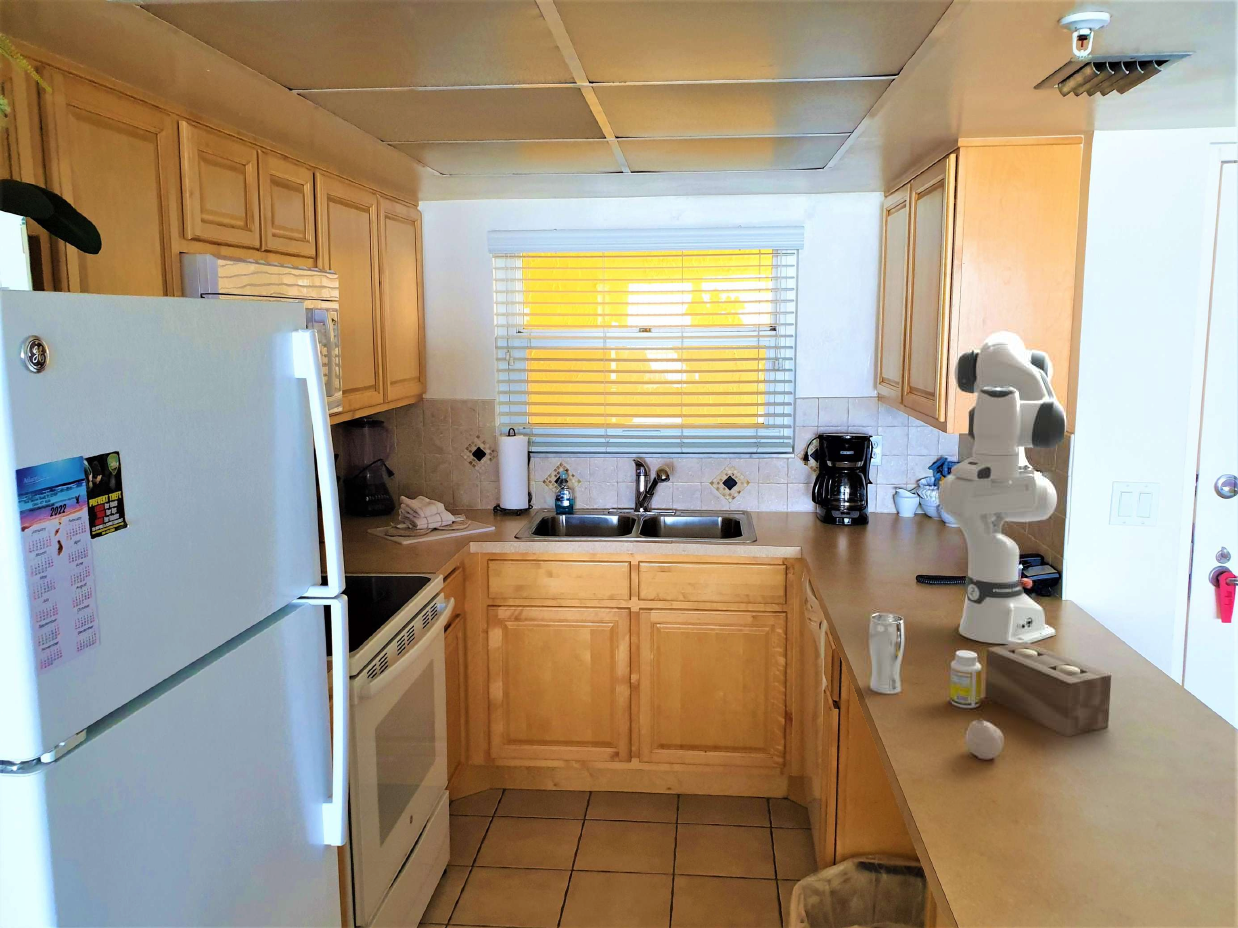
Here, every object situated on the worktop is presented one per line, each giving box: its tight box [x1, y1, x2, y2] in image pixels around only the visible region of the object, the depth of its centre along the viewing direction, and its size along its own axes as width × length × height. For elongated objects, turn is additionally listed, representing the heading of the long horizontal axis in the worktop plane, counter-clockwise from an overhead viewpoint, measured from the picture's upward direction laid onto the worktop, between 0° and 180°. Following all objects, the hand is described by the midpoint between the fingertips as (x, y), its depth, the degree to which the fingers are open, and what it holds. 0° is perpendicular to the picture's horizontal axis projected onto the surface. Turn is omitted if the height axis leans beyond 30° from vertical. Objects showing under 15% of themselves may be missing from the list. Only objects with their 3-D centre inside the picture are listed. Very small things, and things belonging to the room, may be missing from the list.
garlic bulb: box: [965, 718, 1005, 760], centre depth 157 cm, size 7×6×8 cm
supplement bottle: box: [949, 649, 982, 709], centre depth 179 cm, size 6×6×10 cm
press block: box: [984, 642, 1112, 737], centre depth 175 cm, size 10×20×10 cm, turn 22°
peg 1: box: [1015, 649, 1037, 659], centre depth 179 cm, size 4×4×9 cm
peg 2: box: [1056, 665, 1080, 676], centre depth 170 cm, size 4×4×9 cm
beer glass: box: [868, 612, 906, 695], centre depth 187 cm, size 7×7×15 cm
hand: (992, 534), depth 188 cm, fingers closed
